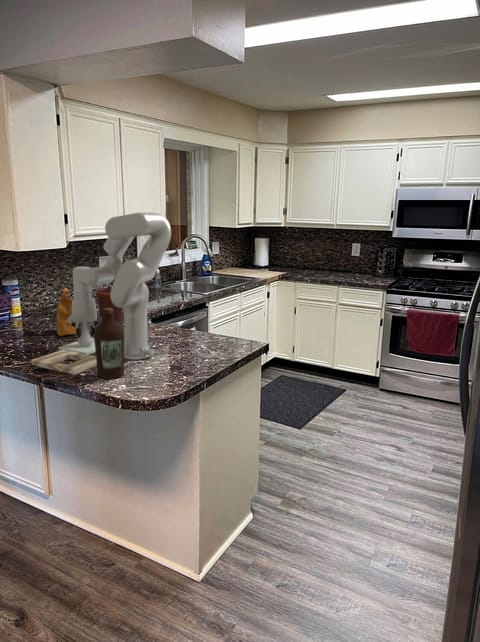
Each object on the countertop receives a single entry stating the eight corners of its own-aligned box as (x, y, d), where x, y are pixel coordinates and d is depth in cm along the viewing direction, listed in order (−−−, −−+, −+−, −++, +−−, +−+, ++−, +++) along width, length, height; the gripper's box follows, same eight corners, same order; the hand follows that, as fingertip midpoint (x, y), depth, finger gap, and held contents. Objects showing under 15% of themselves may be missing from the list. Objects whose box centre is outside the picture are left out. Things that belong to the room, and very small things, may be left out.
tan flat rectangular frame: (104, 362, 183) (104, 357, 183) (74, 374, 169) (73, 369, 169) (63, 354, 193) (63, 349, 192) (31, 365, 178) (31, 360, 178)
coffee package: (78, 329, 233) (76, 286, 228) (78, 335, 221) (75, 290, 216) (57, 330, 230) (54, 287, 225) (56, 337, 218) (53, 291, 213)
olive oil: (94, 372, 172) (91, 307, 167) (123, 369, 177) (120, 305, 171) (97, 381, 163) (94, 312, 157) (128, 378, 167) (125, 311, 161)
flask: (88, 339, 207) (87, 317, 205) (98, 342, 203) (96, 320, 200) (74, 342, 202) (72, 320, 199) (83, 345, 197) (82, 323, 195)
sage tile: (112, 345, 206) (112, 343, 206) (86, 355, 192) (86, 352, 192) (85, 340, 213) (85, 338, 213) (58, 349, 199) (58, 347, 199)
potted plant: (125, 314, 268) (123, 272, 262) (133, 323, 249) (132, 277, 244) (93, 317, 260) (91, 273, 255) (100, 325, 242) (97, 278, 236)
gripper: (103, 293, 204) (105, 333, 208) (62, 294, 198) (65, 335, 202) (104, 296, 197) (106, 337, 201) (61, 297, 191) (64, 340, 195)
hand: (85, 336), depth 201 cm, fingers closed on flask, 5 cm apart
